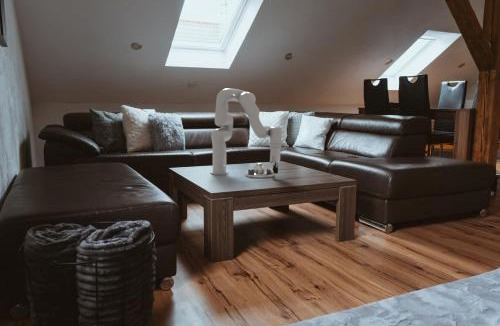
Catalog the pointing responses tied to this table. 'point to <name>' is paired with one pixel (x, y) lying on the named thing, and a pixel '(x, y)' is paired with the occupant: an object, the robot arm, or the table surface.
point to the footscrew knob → (270, 171)
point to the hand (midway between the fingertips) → (275, 173)
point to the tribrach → (258, 172)
